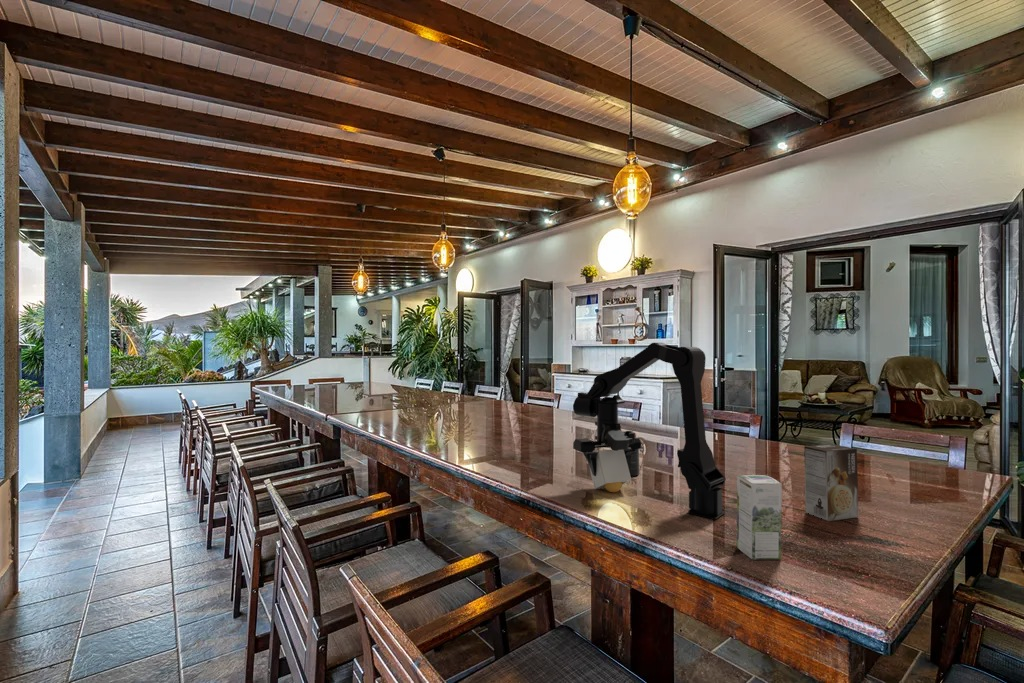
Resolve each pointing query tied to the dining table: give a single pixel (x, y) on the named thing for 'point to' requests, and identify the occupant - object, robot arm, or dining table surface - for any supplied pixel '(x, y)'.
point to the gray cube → (610, 468)
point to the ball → (613, 486)
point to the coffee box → (831, 482)
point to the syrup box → (759, 516)
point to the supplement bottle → (633, 463)
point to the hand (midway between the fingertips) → (607, 474)
